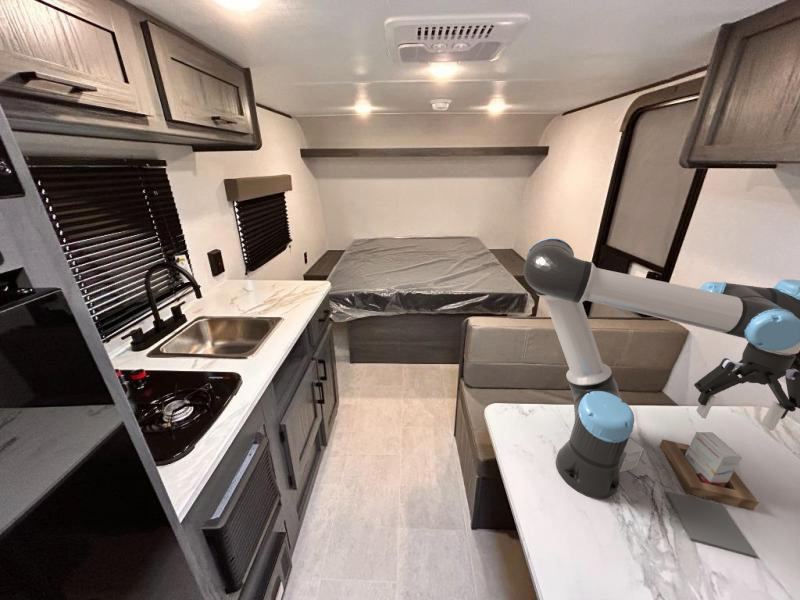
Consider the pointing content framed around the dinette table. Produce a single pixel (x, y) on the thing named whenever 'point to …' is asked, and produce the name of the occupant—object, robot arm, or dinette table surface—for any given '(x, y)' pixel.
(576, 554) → the dinette table surface
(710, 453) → the ink box
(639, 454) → the product box
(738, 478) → the wooden holder frame
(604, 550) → the dinette table surface
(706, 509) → the mat
